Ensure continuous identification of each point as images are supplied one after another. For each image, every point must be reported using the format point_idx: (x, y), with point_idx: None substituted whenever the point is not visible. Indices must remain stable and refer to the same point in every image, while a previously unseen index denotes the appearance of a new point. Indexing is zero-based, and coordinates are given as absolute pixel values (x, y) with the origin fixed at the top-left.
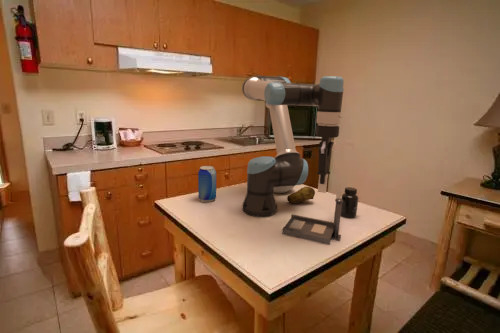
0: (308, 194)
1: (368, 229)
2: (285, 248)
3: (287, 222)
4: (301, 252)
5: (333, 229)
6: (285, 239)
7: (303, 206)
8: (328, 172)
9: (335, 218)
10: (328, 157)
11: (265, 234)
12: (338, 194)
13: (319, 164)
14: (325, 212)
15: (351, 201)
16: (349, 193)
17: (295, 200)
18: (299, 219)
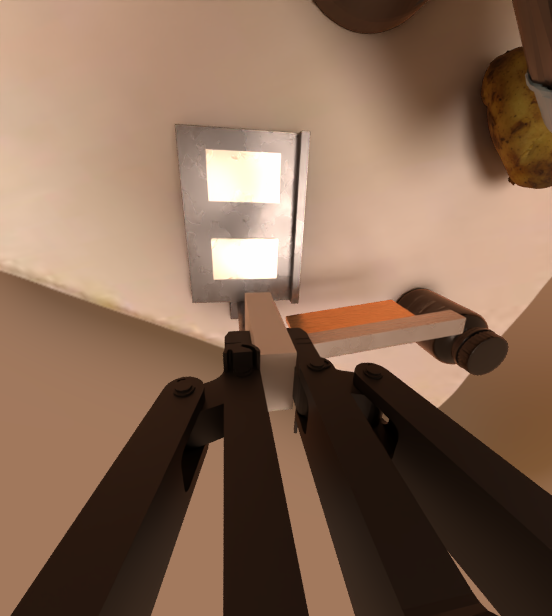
0: (518, 162)
1: (334, 365)
2: (82, 173)
3: (246, 129)
4: (95, 232)
5: (241, 307)
6: (145, 154)
7: (460, 151)
8: (294, 424)
9: (240, 328)
10: (354, 612)
11: (133, 51)
12: (380, 339)
13: (96, 503)
14: (419, 244)
15: (428, 344)
16: (457, 349)
17: (487, 104)
18: (296, 173)
